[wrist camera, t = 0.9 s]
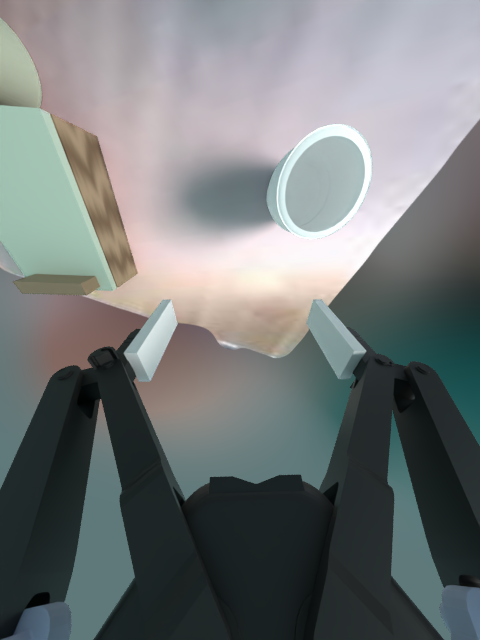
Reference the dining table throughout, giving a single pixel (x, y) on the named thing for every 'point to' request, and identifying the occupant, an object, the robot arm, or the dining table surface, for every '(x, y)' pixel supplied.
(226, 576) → the robot arm
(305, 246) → the dining table surface
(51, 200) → the lid
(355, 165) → the jar
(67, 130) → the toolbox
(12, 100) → the can
